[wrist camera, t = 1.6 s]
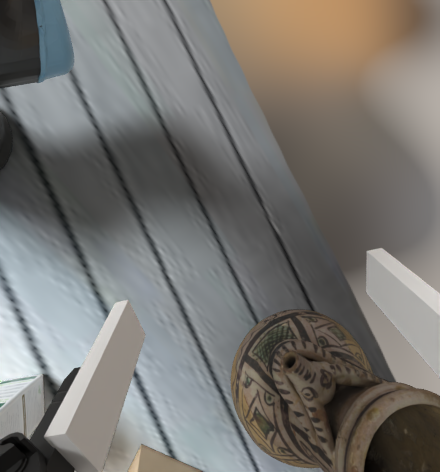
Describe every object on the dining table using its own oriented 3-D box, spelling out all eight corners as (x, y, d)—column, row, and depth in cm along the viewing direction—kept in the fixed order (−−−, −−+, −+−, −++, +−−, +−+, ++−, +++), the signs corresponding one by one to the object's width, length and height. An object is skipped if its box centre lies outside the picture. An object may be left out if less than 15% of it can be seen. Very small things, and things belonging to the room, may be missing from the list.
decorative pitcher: (348, 361, 44) (578, 472, 19) (283, 453, 39) (475, 746, 15) (262, 271, 42) (391, 270, 18) (186, 355, 38) (222, 500, 14)
